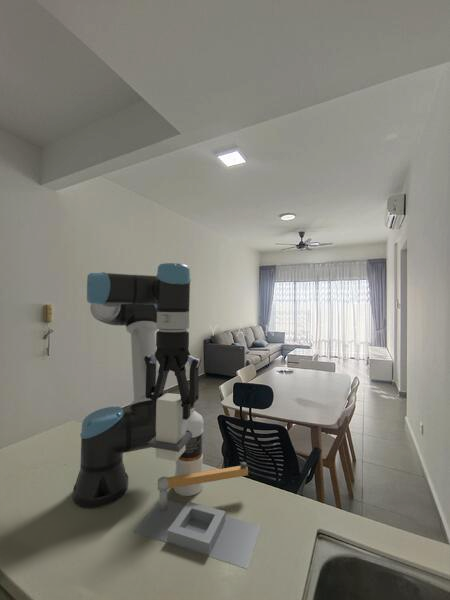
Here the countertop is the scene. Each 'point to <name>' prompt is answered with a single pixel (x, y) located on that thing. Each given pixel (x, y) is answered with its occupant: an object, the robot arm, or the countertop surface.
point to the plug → (169, 429)
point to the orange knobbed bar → (202, 477)
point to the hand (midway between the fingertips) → (171, 430)
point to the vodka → (191, 454)
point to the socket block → (201, 530)
